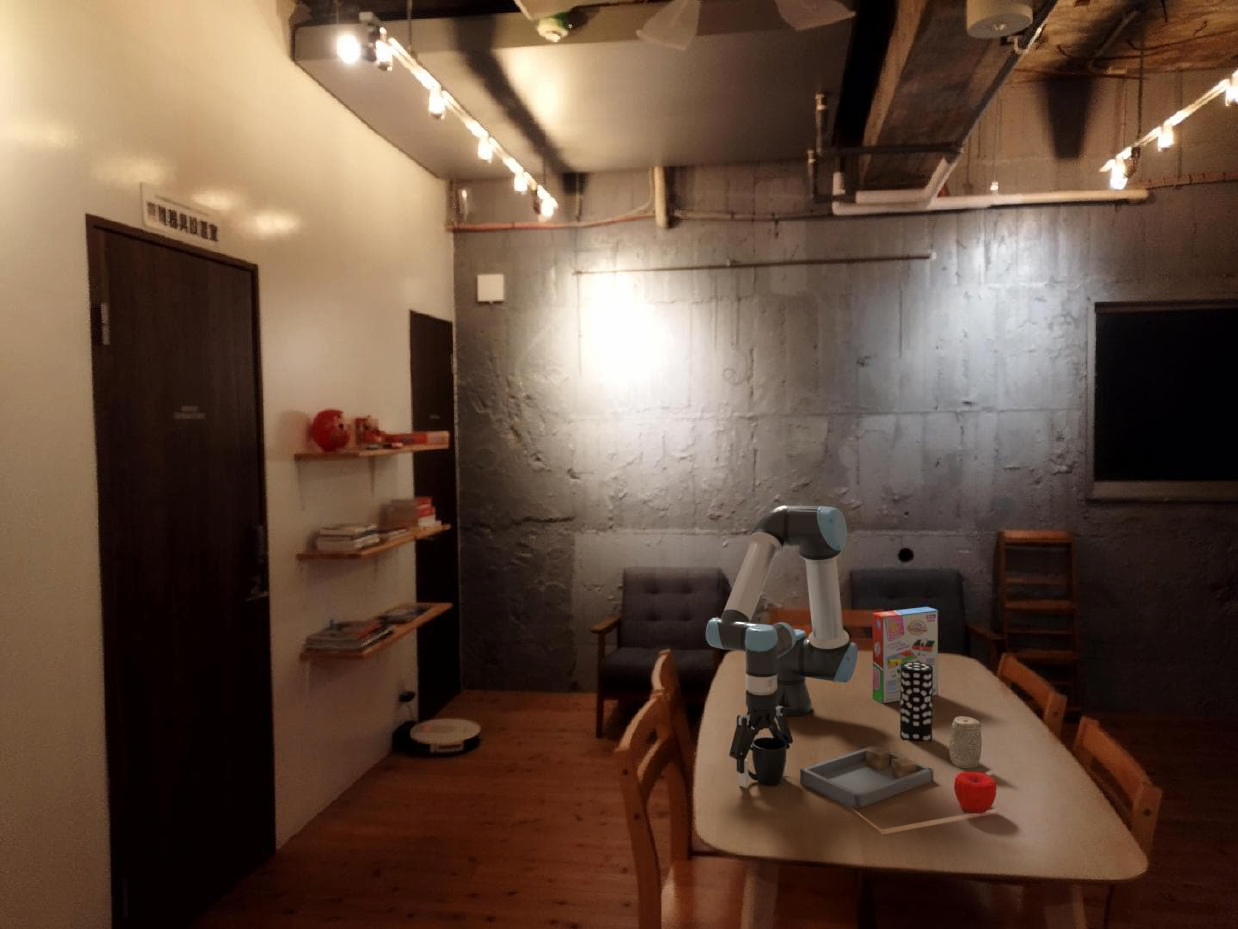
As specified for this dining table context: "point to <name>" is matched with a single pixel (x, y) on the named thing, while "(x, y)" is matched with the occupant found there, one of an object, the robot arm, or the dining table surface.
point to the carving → (965, 742)
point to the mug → (768, 760)
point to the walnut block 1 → (877, 758)
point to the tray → (860, 779)
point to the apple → (975, 791)
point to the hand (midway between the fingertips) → (761, 779)
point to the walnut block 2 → (902, 767)
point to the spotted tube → (916, 701)
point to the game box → (902, 648)
